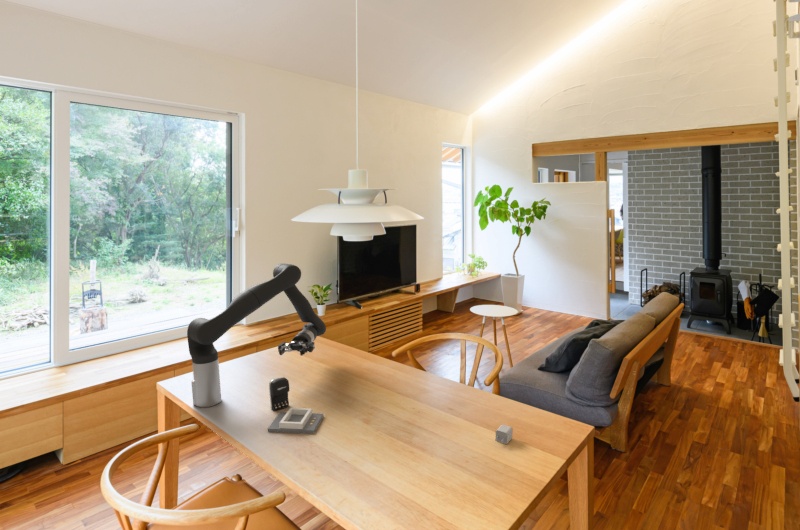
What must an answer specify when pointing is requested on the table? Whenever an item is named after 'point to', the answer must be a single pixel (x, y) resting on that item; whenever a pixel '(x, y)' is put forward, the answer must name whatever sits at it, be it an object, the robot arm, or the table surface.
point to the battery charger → (279, 393)
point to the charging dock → (296, 421)
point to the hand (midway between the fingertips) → (290, 353)
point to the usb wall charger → (504, 434)
